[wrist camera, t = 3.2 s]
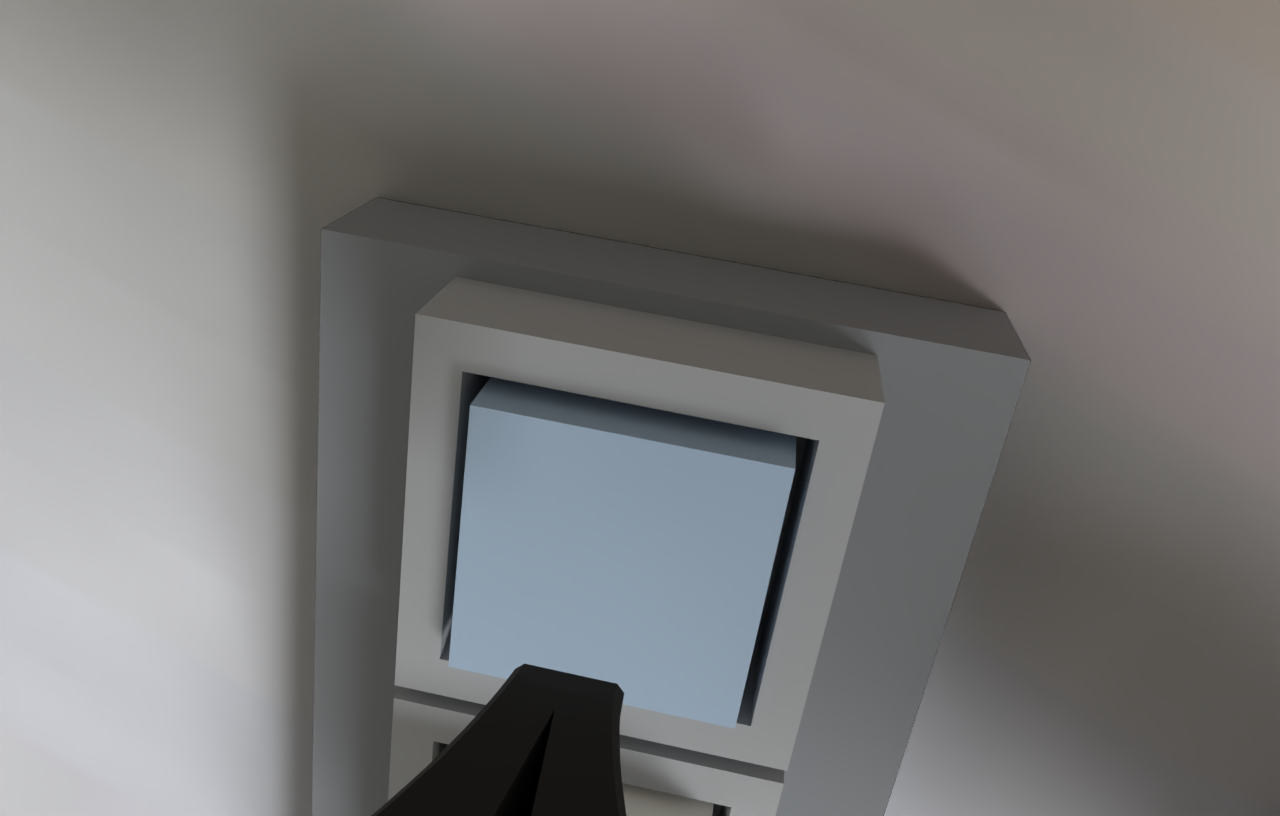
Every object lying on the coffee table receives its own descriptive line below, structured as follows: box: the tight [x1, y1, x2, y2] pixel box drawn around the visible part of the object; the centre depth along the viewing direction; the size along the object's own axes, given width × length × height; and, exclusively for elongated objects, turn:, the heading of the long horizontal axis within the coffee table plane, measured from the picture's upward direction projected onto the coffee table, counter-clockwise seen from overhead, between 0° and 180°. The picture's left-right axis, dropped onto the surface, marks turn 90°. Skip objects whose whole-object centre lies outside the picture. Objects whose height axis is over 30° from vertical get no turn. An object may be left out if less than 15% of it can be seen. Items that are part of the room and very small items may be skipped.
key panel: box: [312, 197, 1031, 816], centre depth 22 cm, size 12×23×4 cm, turn 172°
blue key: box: [448, 377, 796, 729], centre depth 18 cm, size 5×5×2 cm
